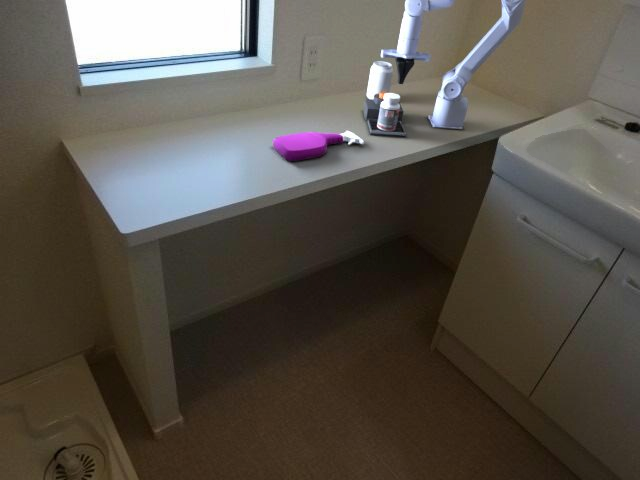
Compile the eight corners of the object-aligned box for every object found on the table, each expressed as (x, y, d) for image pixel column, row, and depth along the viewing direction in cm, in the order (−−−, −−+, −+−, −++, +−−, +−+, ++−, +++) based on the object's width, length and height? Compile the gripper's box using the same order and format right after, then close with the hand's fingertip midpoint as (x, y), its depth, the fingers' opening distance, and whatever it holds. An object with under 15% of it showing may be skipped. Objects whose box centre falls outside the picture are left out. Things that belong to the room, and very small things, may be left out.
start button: (388, 96, 153) (389, 91, 152) (389, 100, 150) (390, 94, 149) (378, 95, 152) (379, 90, 151) (379, 99, 150) (380, 94, 149)
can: (380, 104, 162) (386, 68, 154) (362, 98, 165) (367, 62, 158) (391, 99, 167) (398, 64, 159) (373, 93, 170) (379, 58, 163)
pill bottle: (396, 132, 143) (403, 100, 137) (377, 131, 143) (383, 98, 137) (394, 124, 148) (400, 93, 142) (376, 123, 147) (381, 91, 141)
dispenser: (396, 112, 158) (399, 94, 154) (400, 124, 150) (404, 105, 147) (362, 110, 157) (365, 91, 153) (365, 121, 149) (368, 102, 146)
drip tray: (400, 125, 150) (401, 121, 149) (405, 137, 143) (406, 133, 142) (367, 122, 149) (367, 118, 148) (370, 135, 142) (371, 130, 141)
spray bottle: (270, 146, 130) (345, 133, 142) (289, 164, 123) (366, 149, 135) (270, 135, 128) (346, 124, 140) (290, 153, 121) (368, 139, 133)
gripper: (386, 38, 138) (378, 85, 146) (436, 43, 139) (425, 89, 147) (383, 32, 143) (375, 77, 151) (431, 36, 144) (421, 81, 153)
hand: (400, 83), depth 150 cm, fingers closed
